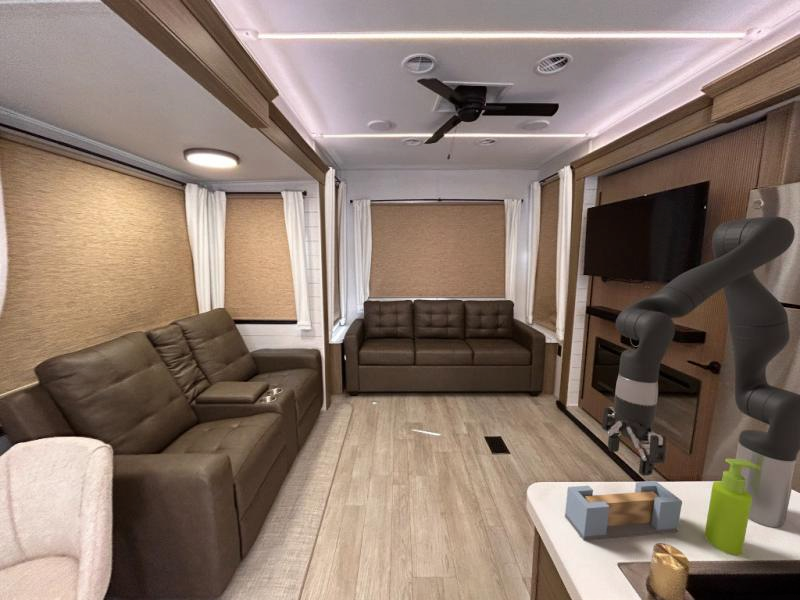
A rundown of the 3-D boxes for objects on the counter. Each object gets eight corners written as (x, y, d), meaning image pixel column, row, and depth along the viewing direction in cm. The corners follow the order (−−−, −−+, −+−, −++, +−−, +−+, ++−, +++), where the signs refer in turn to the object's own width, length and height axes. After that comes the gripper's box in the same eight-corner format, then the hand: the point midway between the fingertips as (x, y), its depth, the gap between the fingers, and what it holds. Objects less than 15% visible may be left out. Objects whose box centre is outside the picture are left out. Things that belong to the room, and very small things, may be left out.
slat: (649, 513, 76) (652, 491, 75) (658, 521, 73) (661, 499, 72) (582, 518, 74) (584, 496, 73) (589, 527, 71) (592, 504, 70)
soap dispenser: (755, 558, 65) (772, 473, 63) (717, 552, 67) (732, 468, 64) (732, 535, 71) (746, 455, 69) (697, 529, 72) (710, 451, 70)
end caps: (651, 509, 78) (655, 480, 77) (677, 531, 72) (682, 500, 71) (564, 516, 75) (567, 486, 74) (583, 540, 69) (587, 508, 68)
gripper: (682, 410, 63) (672, 482, 65) (624, 383, 77) (617, 443, 79) (649, 412, 62) (640, 485, 64) (596, 384, 76) (590, 444, 78)
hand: (627, 462), depth 71 cm, fingers open, 8 cm apart
